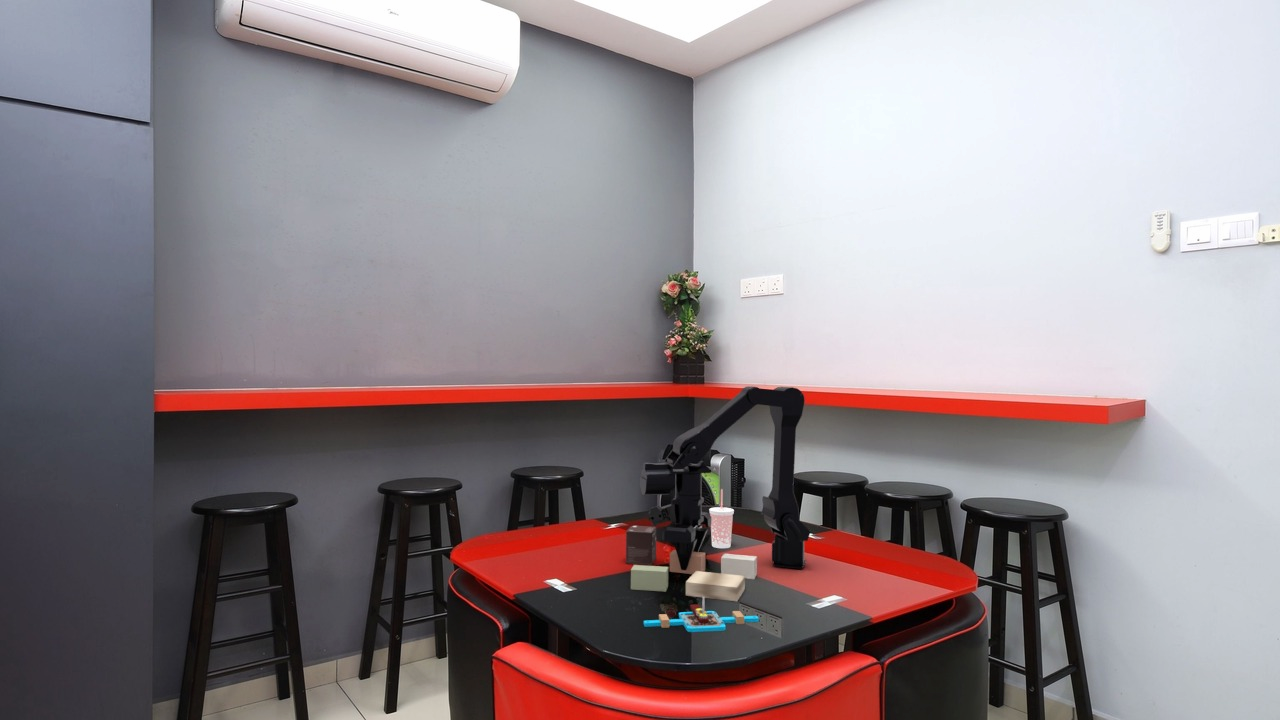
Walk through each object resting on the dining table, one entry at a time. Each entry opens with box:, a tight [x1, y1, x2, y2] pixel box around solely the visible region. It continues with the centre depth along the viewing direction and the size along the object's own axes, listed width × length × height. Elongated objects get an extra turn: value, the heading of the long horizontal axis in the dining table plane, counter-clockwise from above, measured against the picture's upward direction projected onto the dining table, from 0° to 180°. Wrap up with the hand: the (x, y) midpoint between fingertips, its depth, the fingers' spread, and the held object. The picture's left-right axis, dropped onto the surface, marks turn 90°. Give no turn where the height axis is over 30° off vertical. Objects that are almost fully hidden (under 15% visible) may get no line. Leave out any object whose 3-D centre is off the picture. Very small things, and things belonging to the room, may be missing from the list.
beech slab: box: [685, 571, 746, 602], centre depth 138 cm, size 10×8×3 cm
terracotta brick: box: [669, 549, 706, 575], centre depth 152 cm, size 7×4×4 cm, turn 71°
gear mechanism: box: [643, 597, 760, 633], centre depth 122 cm, size 20×5×9 cm
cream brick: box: [720, 553, 758, 580], centre depth 149 cm, size 7×4×4 cm, turn 72°
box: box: [625, 525, 657, 566], centre depth 160 cm, size 6×6×7 cm
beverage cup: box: [708, 488, 735, 549], centre depth 174 cm, size 6×6×14 cm
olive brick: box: [630, 564, 669, 593], centre depth 140 cm, size 7×4×4 cm, turn 81°
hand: (687, 566), depth 152 cm, fingers open, 6 cm apart
